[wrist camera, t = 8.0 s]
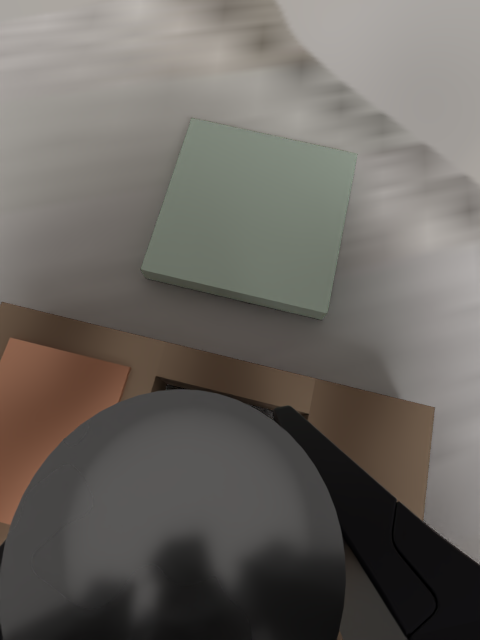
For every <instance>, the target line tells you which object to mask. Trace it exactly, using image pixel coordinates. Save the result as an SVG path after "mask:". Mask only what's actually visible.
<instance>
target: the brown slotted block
mask: <svg viewBox="0 0 480 640" xmlns="http://www.w3.org/2000/svg"><path fill="white" fill-rule="evenodd" d="M167 384H170V385H174V386H178V387H182V388H186V389H190V390H200V391H206V392H212V393H217V394H220V395H224V396H227V397H230V398H233V399H236V400H238V401H241V402H243V403H246V404H250V405H254V406H258V407H262V408H266V409H270V410H274V408H276V407H282V406H287V405H289V406H291V407H293V408H294V409H295V410H296V411H297V412H298V413H300V414H301V415H302V416H303V417H304V418H305V419H306V420H308V421H309V422H310V423H311V424H312V425H313V426H314V427H316V428H317V429H318V430H319V431H320V432H321V433H322V434H324V435H325V436H326V437H327V438H328V439H329V440H330V441H332V442H333V443H334V444H335V445H336V446H337V447H338V448H340V449H341V450H342V451H343V452H344V453H345V454H346V455H347V456H349V457H350V458H351V459H352V460H353V461H354V462H355V463H357V464H358V465H359V466H360V467H361V468H362V469H363V470H365V471H366V472H367V473H368V474H369V475H370V476H371V477H373V478H374V479H375V480H376V481H377V482H378V483H379V484H381V485H382V486H383V487H384V488H385V489H386V490H387V491H389V492H390V493H391V494H392V495H393V496H394V497H395V498H396V499H397V502H398V501H400V502H401V503H402V504H404V505H405V506H406V507H407V508H408V509H409V510H410V511H412V512H413V513H414V514H415V515H416V516H417V517H419V518H420V519H421V520H422V521H423V517H424V508H425V498H426V488H427V478H428V469H429V459H430V449H431V440H432V430H433V420H434V410H435V407H431V406H427V405H423V404H418V403H414V402H410V401H406V400H402V399H398V398H394V397H390V396H386V395H382V394H377V393H373V392H369V391H365V390H361V389H357V388H353V387H349V386H345V385H341V384H336V383H332V382H328V381H324V380H320V379H316V378H312V377H308V376H304V375H300V374H295V373H291V372H287V371H283V370H279V369H275V368H271V367H267V366H263V365H259V364H254V363H250V362H246V361H242V360H238V359H234V358H230V357H226V356H222V355H218V354H213V353H209V352H205V351H201V350H197V349H193V348H189V347H185V346H181V345H177V344H172V343H168V342H164V341H160V340H156V339H152V338H148V337H144V336H140V335H136V334H132V333H127V332H123V331H119V330H115V329H111V328H107V327H103V326H99V325H95V324H91V323H86V322H82V321H78V320H74V319H70V318H66V317H62V316H58V315H54V314H50V313H45V312H41V311H37V310H33V309H29V308H25V307H21V306H17V305H13V304H9V303H4V302H2V303H1V305H0V545H1V544H2V543H3V542H4V541H5V539H6V538H7V535H8V532H9V529H10V525H11V522H12V519H13V517H14V514H15V512H16V510H17V507H18V505H19V503H20V500H21V498H22V496H23V494H24V492H25V490H26V489H27V487H28V485H29V483H30V482H31V480H32V478H33V476H34V475H35V473H36V472H37V471H38V469H39V468H40V467H41V465H42V464H43V462H44V461H45V460H46V458H47V457H48V456H49V455H50V454H51V452H52V451H53V450H54V449H55V448H56V447H57V446H58V445H59V444H60V443H61V442H62V441H63V439H64V438H66V437H67V436H68V435H69V434H70V433H71V432H73V431H74V430H75V429H76V428H77V427H78V426H80V425H81V424H82V423H84V422H85V421H87V420H88V419H90V418H91V417H93V416H94V415H96V414H97V413H99V412H100V411H102V410H104V409H106V408H108V407H110V406H112V405H114V404H116V403H118V402H121V401H124V400H126V399H129V398H132V397H135V396H138V395H142V394H147V393H151V392H156V391H164V390H165V389H166V385H167ZM337 640H343V638H342V635H341V633H340V630H339V634H338V637H337Z"/></svg>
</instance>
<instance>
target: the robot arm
mask: <svg viewBox="0 0 480 640" xmlns="http://www.w3.org/2000/svg"><path fill="white" fill-rule="evenodd" d="M273 417H274V421H275V422H276V423H277V424H278V425H279V426H281V427H282V428H283V429H284V430H285V431H287V432H288V433H289V434H290V435H291V436H292V437H293V439H294V440H295V441H296V442H297V443H298V444H299V445H300V446H301V447H302V448H303V450H304V451H305V452H306V454H307V455H308V457H309V458H310V459H311V461H312V462H313V464H314V465H315V467H316V468H317V470H318V472H319V474H320V476H321V477H322V479H323V481H324V483H325V485H326V487H327V489H328V492H329V494H330V497H331V499H332V502H333V504H334V507H335V509H336V513H337V517H338V521H339V524H340V528H341V532H342V539H343V546H344V552H345V569H346V587H345V599H344V609H343V614H342V619H341V624H340V629H339V630H340V633H341V635H342V638H343V640H480V565H479V564H478V563H477V562H475V561H474V560H472V559H471V558H470V557H468V556H467V555H466V554H464V553H463V552H462V551H460V550H459V549H458V548H456V547H455V546H454V545H452V544H451V543H450V542H448V541H447V540H446V539H444V538H443V537H442V536H440V535H439V534H438V533H437V532H435V531H434V530H433V529H432V528H431V527H429V526H428V525H427V524H426V523H425V522H423V521H422V520H421V519H420V518H419V517H417V516H416V515H415V514H414V513H413V512H412V511H410V510H409V509H408V508H407V507H406V506H405V505H404V504H402V503H401V502H400V501H398V502H397V499H396V498H395V497H394V496H393V495H392V494H391V493H390V492H389V491H387V490H386V489H385V488H384V487H383V486H382V485H381V484H379V483H378V482H377V481H376V480H375V479H374V478H373V477H371V476H370V475H369V474H368V473H367V472H366V471H365V470H363V469H362V468H361V467H360V466H359V465H358V464H357V463H355V462H354V461H353V460H352V459H351V458H350V457H349V456H347V455H346V454H345V453H344V452H343V451H342V450H341V449H340V448H338V447H337V446H336V445H335V444H334V443H333V442H332V441H330V440H329V439H328V438H327V437H326V436H325V435H324V434H322V433H321V432H320V431H319V430H318V429H317V428H316V427H314V426H313V425H312V424H311V423H310V422H309V421H308V420H306V419H305V418H304V417H303V416H302V415H301V414H300V413H298V412H297V411H296V410H295V409H294V408H293V407H291V406H289V405H287V406H282V407H276V408H274V410H273ZM6 539H7V538H6ZM6 539H5V541H4V542H3V543H2V544H1V545H0V568H1V563H2V557H3V552H4V546H5V542H6ZM0 640H3V636H2V630H1V624H0Z"/></svg>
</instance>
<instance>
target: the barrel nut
mask: <svg viewBox="0 0 480 640" xmlns="http://www.w3.org/2000/svg"><path fill="white" fill-rule="evenodd" d="M345 587H346V569H345V552H344V546H343V539H342V532H341V528H340V524H339V521H338V517H337V513H336V509H335V507H334V504H333V502H332V499H331V497H330V494H329V492H328V489H327V487H326V485H325V483H324V481H323V479H322V477H321V476H320V474H319V472H318V470H317V468H316V467H315V465H314V464H313V462H312V461H311V459H310V458H309V457H308V455H307V454H306V452H305V451H304V450H303V448H302V447H301V446H300V445H299V444H298V443H297V442H296V441H295V440H294V439H293V437H292V436H291V435H290V434H289V433H288V432H287V431H285V430H284V429H283V428H282V427H281V426H279V425H278V424H277V423H276V422H275V421H274V420H272V419H271V418H269V417H268V416H266V415H265V414H263V413H262V412H260V411H258V410H257V409H255V408H253V407H251V406H249V405H247V404H245V403H243V402H241V401H238V400H236V399H233V398H230V397H227V396H224V395H220V394H217V393H212V392H206V391H200V390H184V389H175V390H164V391H156V392H151V393H147V394H142V395H138V396H135V397H132V398H129V399H126V400H124V401H121V402H118V403H116V404H114V405H112V406H110V407H108V408H106V409H104V410H102V411H100V412H99V413H97V414H96V415H94V416H93V417H91V418H90V419H88V420H87V421H85V422H84V423H82V424H81V425H80V426H78V427H77V428H76V429H75V430H74V431H73V432H71V433H70V434H69V435H68V436H67V437H66V438H64V439H63V441H62V442H61V443H60V444H59V445H58V446H57V447H56V448H55V449H54V450H53V451H52V452H51V454H50V455H49V456H48V457H47V458H46V460H45V461H44V462H43V464H42V465H41V467H40V468H39V469H38V471H37V472H36V473H35V475H34V476H33V478H32V480H31V482H30V483H29V485H28V487H27V489H26V490H25V492H24V494H23V496H22V498H21V500H20V503H19V505H18V507H17V510H16V512H15V514H14V517H13V519H12V522H11V525H10V529H9V532H8V535H7V539H6V542H5V546H4V552H3V557H2V563H1V568H0V624H1V630H2V636H3V640H337V637H338V634H339V629H340V624H341V619H342V614H343V609H344V599H345Z"/></svg>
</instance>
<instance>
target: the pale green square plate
mask: <svg viewBox="0 0 480 640" xmlns="http://www.w3.org/2000/svg"><path fill="white" fill-rule="evenodd" d="M357 155H358V154H356V153H351V152H347V151H342V150H338V149H333V148H328V147H324V146H319V145H315V144H310V143H305V142H301V141H296V140H292V139H287V138H282V137H278V136H273V135H269V134H264V133H259V132H255V131H250V130H246V129H241V128H236V127H232V126H227V125H223V124H218V123H213V122H209V121H204V120H200V119H195V118H191V121H190V124H189V127H188V130H187V133H186V136H185V139H184V142H183V145H182V148H181V151H180V154H179V157H178V160H177V163H176V166H175V169H174V172H173V175H172V177H171V180H170V183H169V186H168V189H167V192H166V195H165V198H164V201H163V204H162V207H161V210H160V213H159V216H158V219H157V222H156V225H155V228H154V231H153V234H152V237H151V240H150V243H149V246H148V249H147V252H146V254H145V257H144V260H143V263H142V266H141V271H142V273H143V275H144V276H145V278H147V279H151V280H155V281H159V282H163V283H168V284H172V285H176V286H180V287H185V288H189V289H193V290H197V291H201V292H206V293H210V294H214V295H218V296H223V297H227V298H231V299H235V300H239V301H244V302H248V303H252V304H256V305H260V306H265V307H269V308H273V309H277V310H282V311H286V312H290V313H294V314H298V315H303V316H307V317H311V318H315V319H319V320H323V318H324V317H325V316H326V315H327V313H328V308H329V303H330V297H331V292H332V287H333V282H334V276H335V271H336V266H337V260H338V255H339V250H340V244H341V239H342V234H343V229H344V223H345V218H346V213H347V207H348V202H349V197H350V192H351V186H352V181H353V176H354V170H355V165H356V160H357Z"/></svg>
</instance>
